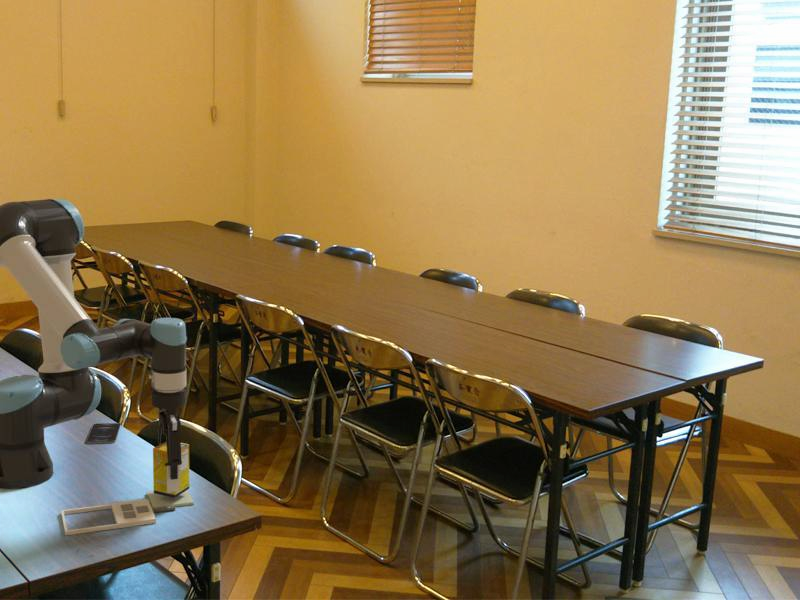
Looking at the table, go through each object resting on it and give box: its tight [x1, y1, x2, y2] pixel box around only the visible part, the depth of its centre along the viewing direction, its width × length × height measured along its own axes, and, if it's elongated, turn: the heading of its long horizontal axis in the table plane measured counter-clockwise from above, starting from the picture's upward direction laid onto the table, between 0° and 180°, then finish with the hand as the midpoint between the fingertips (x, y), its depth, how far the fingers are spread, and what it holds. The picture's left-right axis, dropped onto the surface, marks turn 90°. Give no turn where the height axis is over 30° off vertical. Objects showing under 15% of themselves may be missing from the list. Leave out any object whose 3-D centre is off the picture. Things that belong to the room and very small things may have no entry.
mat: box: [146, 489, 195, 509], centre depth 217 cm, size 9×9×1 cm
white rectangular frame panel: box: [60, 498, 176, 536], centre depth 207 cm, size 11×24×1 cm, turn 113°
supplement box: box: [152, 442, 190, 498], centre depth 216 cm, size 6×6×11 cm
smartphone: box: [86, 422, 122, 445], centre depth 256 cm, size 8×1×15 cm
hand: (169, 483), depth 216 cm, fingers closed on supplement box, 8 cm apart
